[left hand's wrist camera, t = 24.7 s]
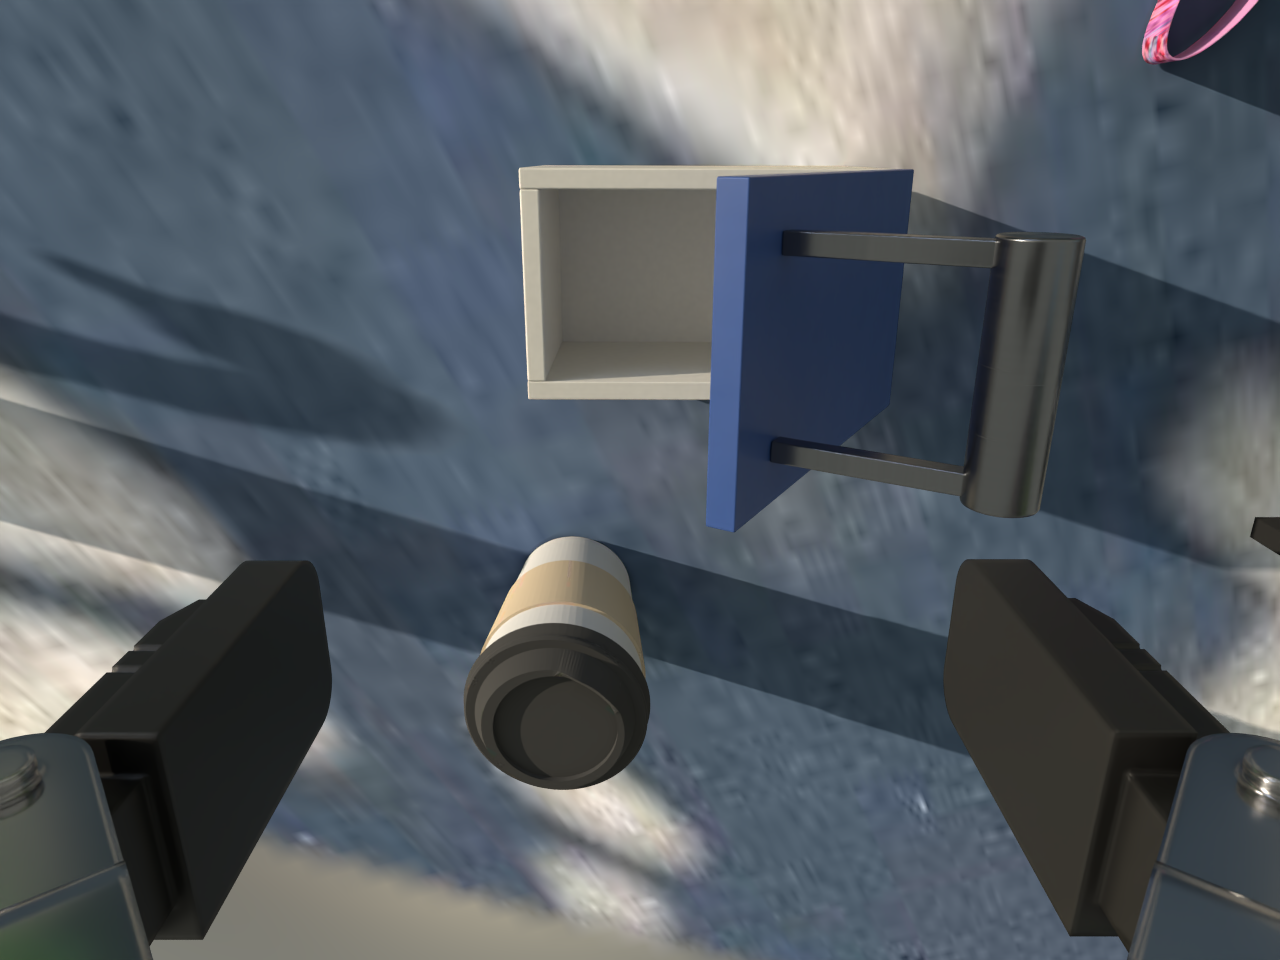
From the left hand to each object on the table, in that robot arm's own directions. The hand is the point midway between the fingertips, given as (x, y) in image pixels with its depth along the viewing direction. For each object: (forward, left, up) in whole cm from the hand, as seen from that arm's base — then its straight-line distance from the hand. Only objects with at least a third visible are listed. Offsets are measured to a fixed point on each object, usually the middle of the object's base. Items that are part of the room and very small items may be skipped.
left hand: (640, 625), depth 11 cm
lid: (-4, +5, -22) cm, 23 cm away
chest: (-2, +2, -39) cm, 39 cm away
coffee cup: (+17, +10, -39) cm, 44 cm away
